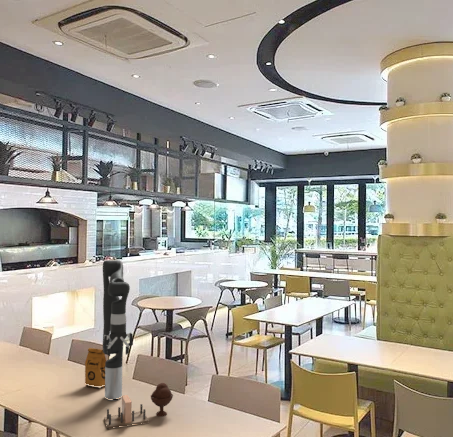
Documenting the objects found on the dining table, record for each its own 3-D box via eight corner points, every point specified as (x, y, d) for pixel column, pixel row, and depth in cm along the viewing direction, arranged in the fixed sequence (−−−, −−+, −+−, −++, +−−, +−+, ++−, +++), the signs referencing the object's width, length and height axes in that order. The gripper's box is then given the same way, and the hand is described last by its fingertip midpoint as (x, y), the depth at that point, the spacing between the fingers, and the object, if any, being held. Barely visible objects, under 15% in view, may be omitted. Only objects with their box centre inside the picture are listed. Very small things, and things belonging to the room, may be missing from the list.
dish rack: (104, 419, 222) (104, 407, 223) (143, 413, 230) (143, 402, 230) (107, 429, 211) (107, 416, 212) (148, 423, 218) (148, 411, 219)
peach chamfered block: (121, 415, 225) (121, 395, 225) (127, 414, 226) (127, 395, 226) (125, 423, 215) (125, 402, 216) (131, 422, 216) (131, 402, 217)
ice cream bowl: (146, 414, 229) (146, 384, 229) (164, 408, 237) (164, 379, 237) (158, 420, 221) (159, 389, 222) (177, 414, 229) (177, 384, 230)
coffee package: (98, 390, 263) (99, 351, 263) (82, 387, 268) (82, 349, 269) (110, 385, 272) (110, 348, 272) (94, 382, 277) (94, 345, 278)
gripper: (131, 320, 234) (130, 351, 234) (102, 321, 229) (102, 354, 228) (134, 322, 227) (133, 355, 227) (104, 324, 222) (104, 358, 221)
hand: (117, 355), depth 228 cm, fingers open, 8 cm apart
